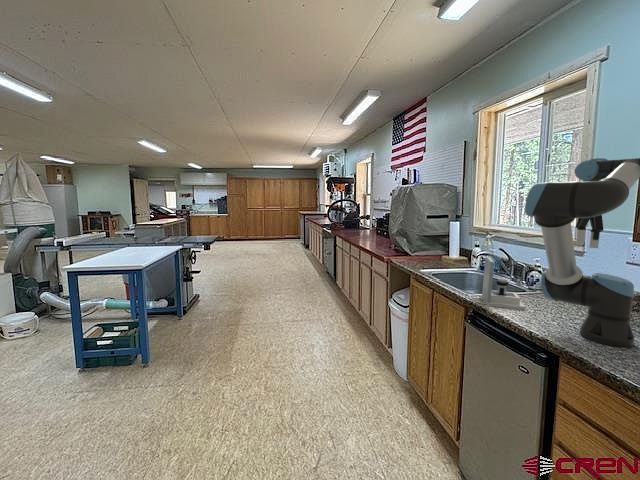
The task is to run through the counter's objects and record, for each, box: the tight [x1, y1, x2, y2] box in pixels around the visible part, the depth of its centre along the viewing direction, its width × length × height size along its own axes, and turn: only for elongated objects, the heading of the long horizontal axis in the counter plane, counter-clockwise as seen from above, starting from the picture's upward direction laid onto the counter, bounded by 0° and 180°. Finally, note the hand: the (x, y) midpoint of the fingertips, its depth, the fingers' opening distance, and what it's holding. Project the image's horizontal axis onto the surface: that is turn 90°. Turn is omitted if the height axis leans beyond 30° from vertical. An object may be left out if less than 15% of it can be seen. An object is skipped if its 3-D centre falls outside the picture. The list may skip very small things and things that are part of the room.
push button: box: [496, 278, 509, 296], centre depth 163 cm, size 7×5×10 cm
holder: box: [481, 256, 526, 311], centre depth 163 cm, size 18×16×22 cm
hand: (586, 246), depth 141 cm, fingers open, 13 cm apart
